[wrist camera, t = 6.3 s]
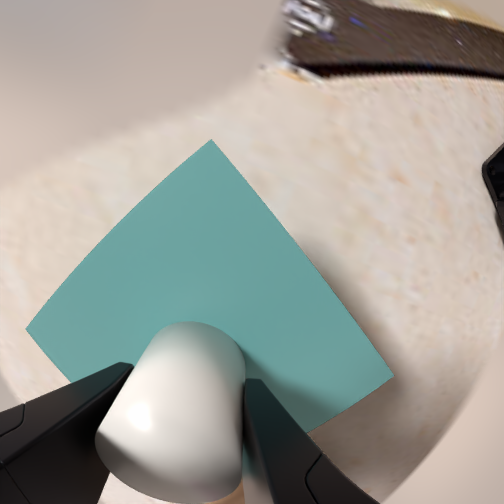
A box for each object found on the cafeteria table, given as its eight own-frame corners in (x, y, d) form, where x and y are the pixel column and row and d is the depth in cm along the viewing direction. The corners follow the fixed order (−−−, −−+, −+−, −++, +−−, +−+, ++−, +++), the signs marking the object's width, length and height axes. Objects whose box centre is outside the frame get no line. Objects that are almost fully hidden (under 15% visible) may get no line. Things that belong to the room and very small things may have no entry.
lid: (219, 148, 9) (172, 94, 4) (374, 347, 11) (448, 457, 5) (53, 309, 11) (-45, 383, 5) (200, 452, 12) (182, 560, 6)
